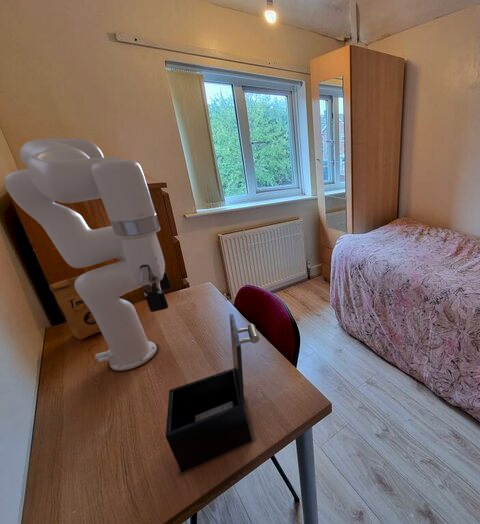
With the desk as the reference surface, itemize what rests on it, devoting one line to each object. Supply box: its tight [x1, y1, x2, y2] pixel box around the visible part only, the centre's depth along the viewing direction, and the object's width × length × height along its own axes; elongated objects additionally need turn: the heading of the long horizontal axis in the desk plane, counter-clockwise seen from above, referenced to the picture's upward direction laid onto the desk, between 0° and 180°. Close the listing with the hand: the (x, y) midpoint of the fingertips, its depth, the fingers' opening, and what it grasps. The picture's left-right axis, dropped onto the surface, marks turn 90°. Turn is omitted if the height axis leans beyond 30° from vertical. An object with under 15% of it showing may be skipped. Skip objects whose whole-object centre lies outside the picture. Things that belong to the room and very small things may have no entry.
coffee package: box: [48, 275, 101, 340], centre depth 102 cm, size 10×12×22 cm
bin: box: [164, 367, 253, 474], centre depth 66 cm, size 15×13×12 cm
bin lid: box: [229, 312, 260, 405], centre depth 65 cm, size 15×13×5 cm
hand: (161, 298), depth 64 cm, fingers open, 9 cm apart
